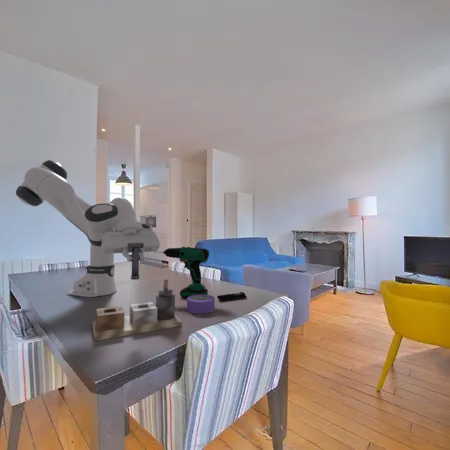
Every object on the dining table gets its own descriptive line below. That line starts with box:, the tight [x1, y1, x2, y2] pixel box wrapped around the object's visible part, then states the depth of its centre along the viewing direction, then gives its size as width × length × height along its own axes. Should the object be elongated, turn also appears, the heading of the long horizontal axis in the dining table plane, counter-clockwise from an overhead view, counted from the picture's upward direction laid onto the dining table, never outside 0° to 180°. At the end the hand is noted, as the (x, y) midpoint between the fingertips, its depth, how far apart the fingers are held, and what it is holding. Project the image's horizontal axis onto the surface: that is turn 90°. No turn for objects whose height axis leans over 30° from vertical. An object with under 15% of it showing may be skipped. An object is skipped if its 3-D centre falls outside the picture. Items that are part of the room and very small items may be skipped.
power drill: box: [157, 246, 210, 299], centre depth 131 cm, size 6×29×25 cm, turn 79°
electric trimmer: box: [216, 291, 247, 301], centre depth 128 cm, size 4×16×3 cm, turn 119°
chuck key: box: [128, 243, 144, 281], centre depth 92 cm, size 5×3×13 cm, turn 127°
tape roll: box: [186, 294, 216, 315], centre depth 112 cm, size 12×12×5 cm
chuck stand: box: [92, 278, 183, 342], centre depth 93 cm, size 28×14×16 cm, turn 119°
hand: (135, 260), depth 92 cm, fingers closed on chuck key, 2 cm apart
